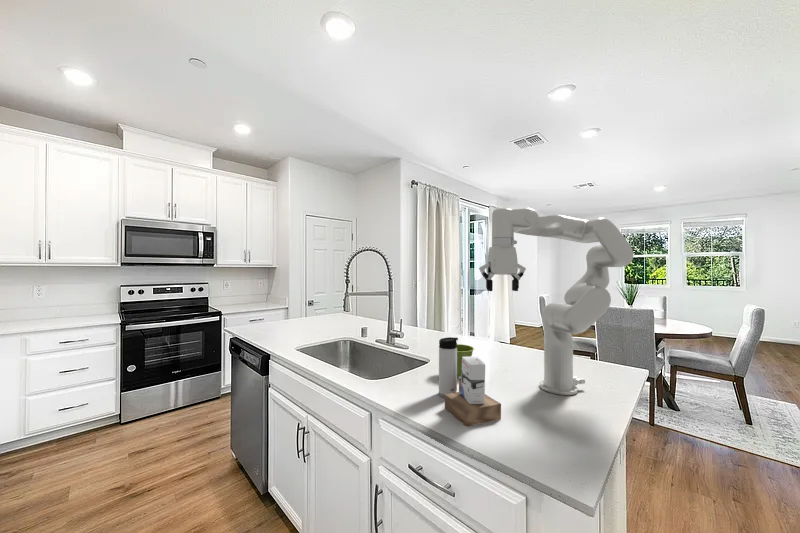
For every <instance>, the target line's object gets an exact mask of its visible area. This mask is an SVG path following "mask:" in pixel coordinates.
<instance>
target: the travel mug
mask: <svg viewBox="0 0 800 533" xmlns="http://www.w3.org/2000/svg"><path fill="white" fill-rule="evenodd" d="M457 341H459V338H458V337H444V338H443V337H442V338H440V339H439V341H438V342H439V343H438V344H439V345H438V395H439V396H440V397H442V398H444V399H445V394H450V393H456V392H458V377H457V344H458V342H457Z"/></svg>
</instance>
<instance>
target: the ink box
mask: <svg viewBox="0 0 800 533" xmlns="http://www.w3.org/2000/svg"><path fill="white" fill-rule="evenodd" d="M485 382H486V363H485V362H484V361H482V359H480V358H479V356H475V355H474V356H473V355H472V356H471V357H462V374H461V394H462V395H463V396H464V398H465V399H466V400H467V402H468V403H469V404H484V398H485V394H486V393H485V390H486V389H485V388H486V383H485Z"/></svg>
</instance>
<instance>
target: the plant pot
mask: <svg viewBox="0 0 800 533" xmlns="http://www.w3.org/2000/svg"><path fill="white" fill-rule="evenodd" d="M474 350H475V347H474V346H471V345H467V344H462V343H461V344H460V343H457V378H458V377H460V376H461V374H462V357H471V356H473V353H474V352H473V351H474Z"/></svg>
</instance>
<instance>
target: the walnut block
mask: <svg viewBox="0 0 800 533" xmlns="http://www.w3.org/2000/svg"><path fill="white" fill-rule="evenodd" d="M444 410H445V411H446V410H447V411H446V412H448V413H449V414H450V415H452V417H454V418H455V419H456V420H457V421H459V423H461V424H463V425H464V427H466V428H467V427H471V426H472V427H473V426H476V425H477V426H478V425H481V424H486V423H489V422H495V421H500V420H502V403H500V402H499V401H497V400H495V399H494V398H492V397H490V396H489V395H487V394H486V393H485V398H484V404H469V403H468V402H467V400H466V399H465V398H464V396H463V395H462V394H461V392H459V391H457V392H456V393H450V394H445V398H444Z"/></svg>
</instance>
